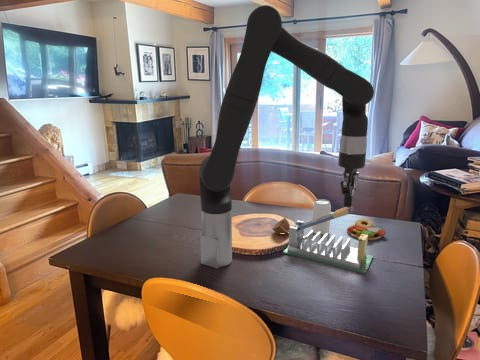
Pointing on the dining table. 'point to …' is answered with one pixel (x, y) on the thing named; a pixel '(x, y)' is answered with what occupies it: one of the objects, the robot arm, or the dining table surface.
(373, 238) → the toy food set
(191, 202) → the dining table surface
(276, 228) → the fruit slice
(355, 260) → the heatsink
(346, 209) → the grey and tan bar
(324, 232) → the can
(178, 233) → the dining table surface
